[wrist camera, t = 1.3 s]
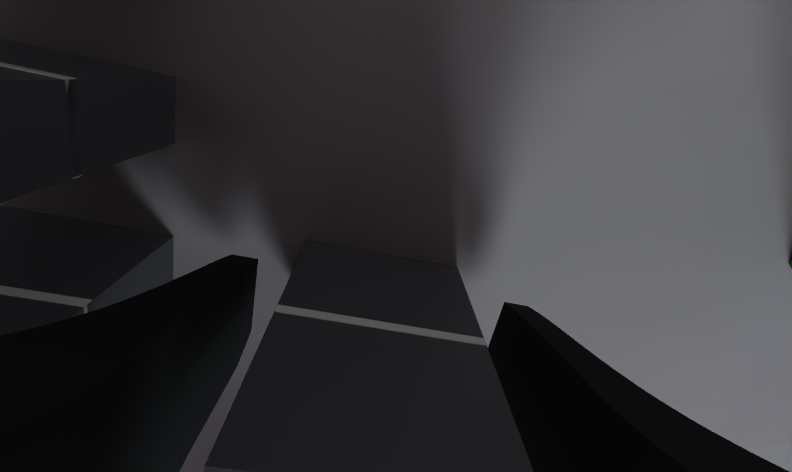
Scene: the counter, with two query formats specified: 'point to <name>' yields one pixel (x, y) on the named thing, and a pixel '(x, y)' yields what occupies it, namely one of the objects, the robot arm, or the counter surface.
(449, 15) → the counter surface
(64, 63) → the domino
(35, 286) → the domino
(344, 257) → the domino
